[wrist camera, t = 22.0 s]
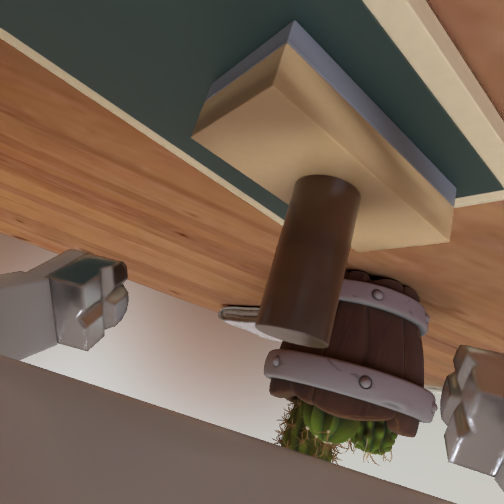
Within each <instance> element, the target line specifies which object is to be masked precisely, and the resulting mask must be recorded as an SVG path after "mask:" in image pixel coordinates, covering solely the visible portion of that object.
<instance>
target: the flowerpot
mask: <svg viewBox="0 0 504 504" xmlns="http://www.w3.org/2000/svg"><path fill="white" fill-rule="evenodd" d="M429 321H430V317H429V316H428V315H427V314H426V310H425V308H424V307H423V306H422V305H421V304H420V301H419V297H418V295H417V294H416V292H415V291H414V290H412V289H411V288H409V287H403V286H402V285H401V284H400V283H399V282H397V281H395V280H391V279H381V280H375V281H371V280H370V277H369V276H368V274H367V273H365V272H361V271H352V272H350V273H349V272H347V271H345V274H344V279H343V283H342V288H341V292H340V297H339V301H338V306H337V311H336V315H335V320H334V324H333V329H332V333H331V338H330V342H329V346H328V347H327V348H313V347H307V346H302V345H298V344H294V343H290V342H286V341H282V344H281V347H280V349H276V350H272V351H270V352H269V354H268V356H267V358H266V361H265V365H264V375H265V376H266V377H267V378H269V379H271V383H270V389H269V391H270V394H271V395H273V396H275V397H278V398H286V399H287V400H289V401H291V402H293V403H291V404H294V407H293V409H292V411H290V409H289V407H288V409H289V411H288V412H290V414H289V413H287V414H289V415H290V417H289V419H286V418H285V417H284V418H285V419H284V418H283V419H284V420H283V421H285V422H283V423H282V424H284V423H286V424H287V427H286V425H285V427H286V429H285V431H284V432H283V429H281V431H282V432H283V433H282V432H281V434H280V435H282V434H283V436H282V439H281V440H280V438H279V441H278V443H280V444H281V446H282V447H285V448H288V449H291V450H294V451H297V452H300V453H303V454H306V455H309V456H312V457H315V458H318V459H321V460H324V461H327V462H330V463H331V460H332V459H333V460H332V462H333V461H336V460H334V459H336V458H337V457H336V458H335V456H337V454H335V451H336V450H335V448H336V449H337V447H336V446H338V445H340V443H343V442H346V441H347V442H350V447H351V445H352V444H351V442H352V443H354V447H355V448H358V449H361V450H362V451H365V454H366V452H367V453H368V454H367V456H366V459H367V457H368V455H370V457H371V454H379V455H383V458H385V459H386V457H385V455H384V454H385V452H389V451H391V449H392V445H393V444H394V443H395V439H396V438H397V434H399V435H402V436H407V437H415V435H416V433H417V429H418V425H419V422H423V423H430V422H431V421H432V419H433V416H434V413H435V411H436V410H437V405H436V404H435V397H434V395H433V394H432V393H431V392H430V391H428V390H426V389H425V388H424V357H423V347H422V340H421V336H424V335H425V334H426V333H427V332H428V322H429ZM284 416H285V415H284ZM276 432H277V431H276ZM278 433H280V431H279V432H278ZM280 435H278V436H280ZM274 440H275V439H274ZM347 442H346V443H347ZM278 443H277V444H278ZM274 444H276V443H274ZM345 445H346V444H345ZM340 446H341V445H340ZM340 446H339V447H340ZM348 446H349V445H348ZM332 448H333V450H334V453H333V452H332ZM341 448H343V447H342V446H341ZM346 449H349V447H348V448H346ZM353 449H354V448H353ZM351 450H352V447H351ZM352 451H353V450H352ZM354 451H355V450H354ZM336 452H337V451H336ZM332 453H333V455H332ZM337 453H339V452H337ZM334 454H335V455H334ZM365 454H364V456H365ZM337 459H338V458H337ZM371 459H372V457H371ZM391 459H392V451H391ZM339 460H340V459H339ZM386 460H387V459H386ZM372 461H373V462H374V460H373V459H372ZM390 461H391V460H390ZM374 463H375V462H374ZM375 464H376V463H375ZM337 465H338V464H337Z"/></svg>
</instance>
